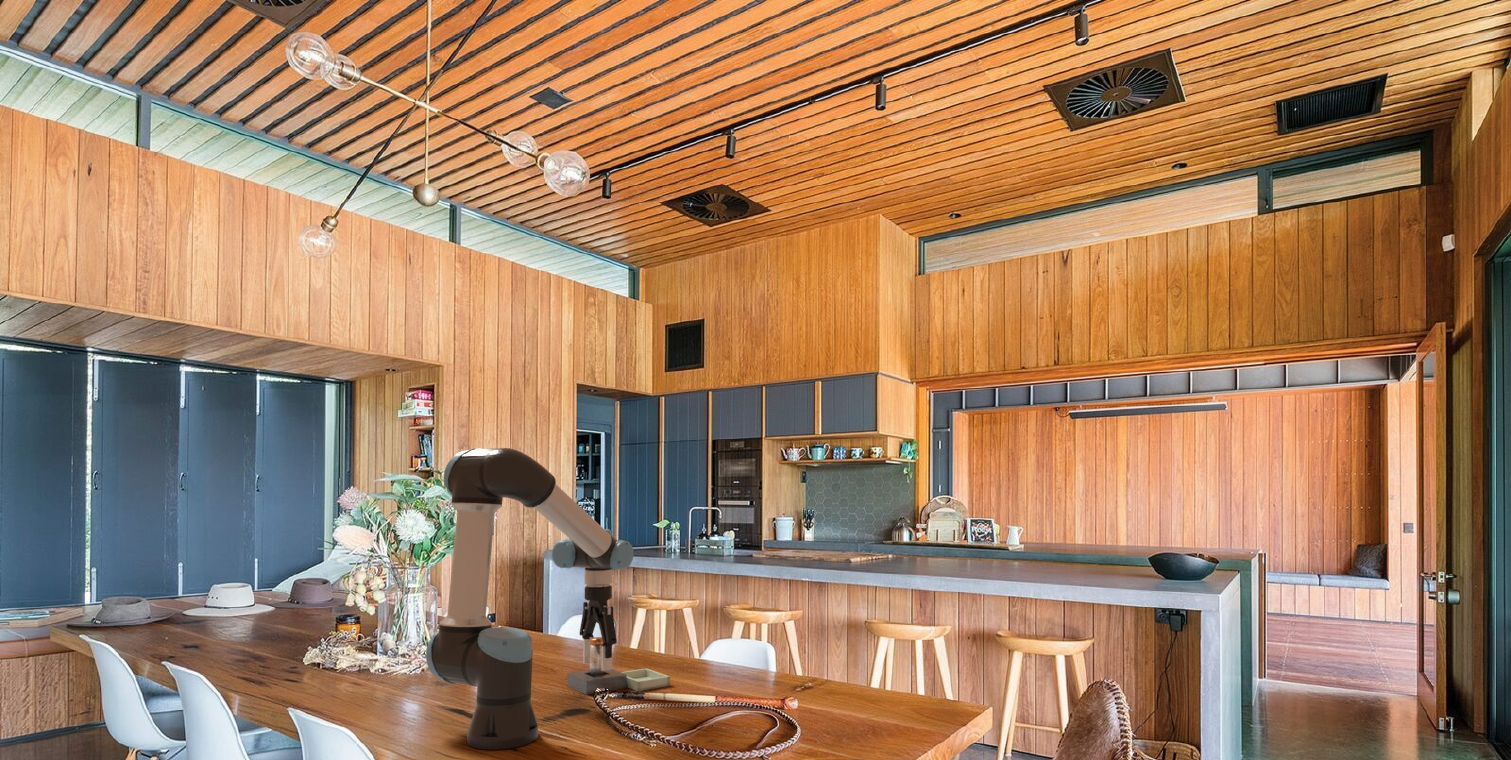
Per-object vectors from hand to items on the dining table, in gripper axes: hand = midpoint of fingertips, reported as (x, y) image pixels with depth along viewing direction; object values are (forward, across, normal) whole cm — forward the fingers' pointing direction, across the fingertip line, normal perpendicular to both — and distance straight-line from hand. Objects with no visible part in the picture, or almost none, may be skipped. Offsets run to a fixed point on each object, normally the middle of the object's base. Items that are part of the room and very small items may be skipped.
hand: (597, 666), depth 234 cm
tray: (+5, -5, -12) cm, 14 cm away
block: (+5, 0, 0) cm, 5 cm away
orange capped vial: (+6, 0, 0) cm, 6 cm away
